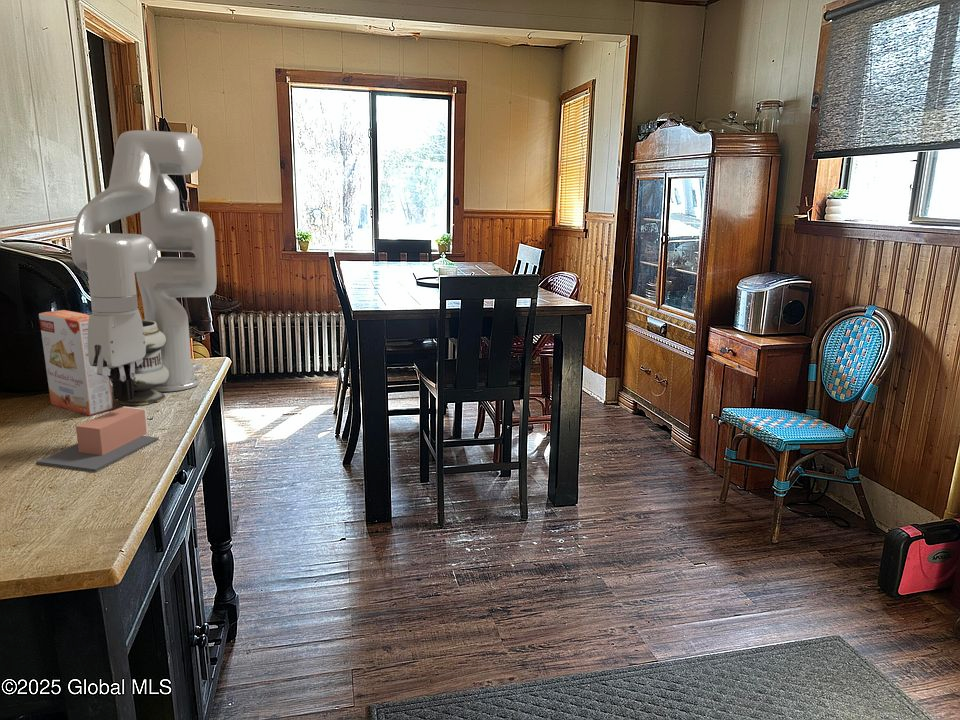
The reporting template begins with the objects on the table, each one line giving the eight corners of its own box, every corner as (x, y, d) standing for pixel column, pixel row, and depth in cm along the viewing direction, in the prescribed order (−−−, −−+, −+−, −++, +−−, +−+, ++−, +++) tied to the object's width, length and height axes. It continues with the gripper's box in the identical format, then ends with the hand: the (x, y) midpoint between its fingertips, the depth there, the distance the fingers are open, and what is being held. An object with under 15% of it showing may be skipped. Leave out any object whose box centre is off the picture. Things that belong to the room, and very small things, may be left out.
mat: (105, 433, 131) (105, 431, 130) (158, 440, 128) (158, 437, 128) (36, 464, 115) (36, 461, 115) (95, 472, 113) (95, 469, 113)
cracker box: (48, 405, 146) (36, 312, 141) (75, 398, 151) (65, 308, 146) (87, 417, 140) (76, 320, 134) (114, 409, 145) (105, 315, 140)
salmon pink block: (123, 406, 130) (75, 426, 119) (146, 409, 129) (99, 429, 118) (126, 430, 131) (78, 452, 120) (148, 433, 130) (102, 455, 119)
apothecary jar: (134, 411, 144) (126, 330, 140) (100, 401, 150) (92, 323, 145) (182, 397, 155) (176, 322, 150) (149, 388, 160) (143, 315, 156)
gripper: (126, 297, 130) (134, 387, 134) (64, 309, 116) (76, 408, 120) (159, 300, 128) (167, 390, 133) (101, 312, 114) (112, 412, 119)
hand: (124, 398), depth 127 cm, fingers closed
